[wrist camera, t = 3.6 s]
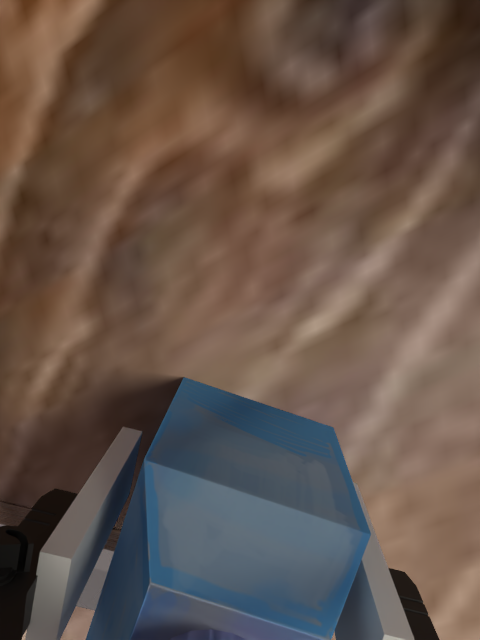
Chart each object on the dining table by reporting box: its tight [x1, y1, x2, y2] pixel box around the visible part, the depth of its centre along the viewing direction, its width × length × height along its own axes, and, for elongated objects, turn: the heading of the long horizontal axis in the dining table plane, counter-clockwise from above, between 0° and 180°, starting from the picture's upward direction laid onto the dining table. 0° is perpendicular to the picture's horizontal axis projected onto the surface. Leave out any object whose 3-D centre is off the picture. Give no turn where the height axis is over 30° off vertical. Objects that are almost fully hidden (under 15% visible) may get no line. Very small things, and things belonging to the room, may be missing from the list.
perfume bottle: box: [86, 377, 371, 640], centre depth 12 cm, size 6×6×12 cm
